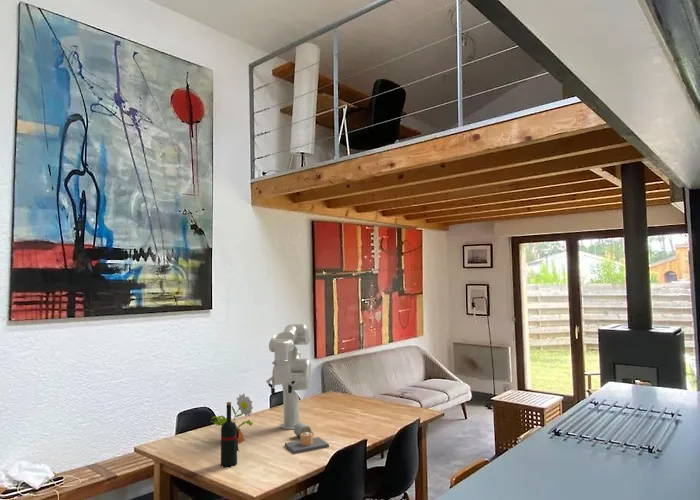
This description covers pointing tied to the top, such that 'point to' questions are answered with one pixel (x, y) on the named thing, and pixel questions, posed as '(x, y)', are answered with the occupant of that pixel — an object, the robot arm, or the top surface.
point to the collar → (306, 439)
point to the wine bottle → (229, 441)
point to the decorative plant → (245, 408)
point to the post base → (298, 448)
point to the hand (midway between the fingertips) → (281, 394)
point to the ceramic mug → (301, 429)
